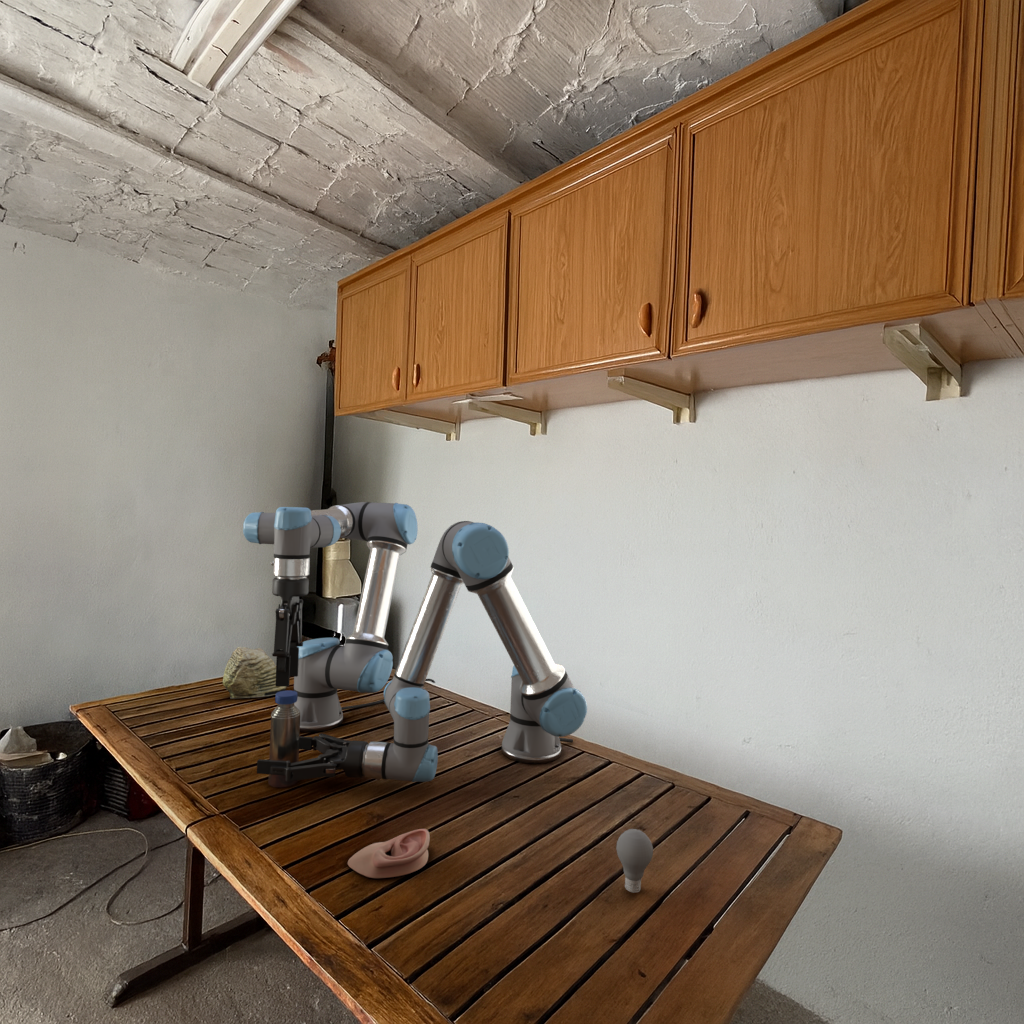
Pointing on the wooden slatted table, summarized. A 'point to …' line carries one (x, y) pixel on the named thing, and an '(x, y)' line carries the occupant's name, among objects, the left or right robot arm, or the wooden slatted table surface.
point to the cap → (286, 697)
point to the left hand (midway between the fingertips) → (287, 680)
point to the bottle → (284, 739)
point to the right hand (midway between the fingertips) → (271, 753)
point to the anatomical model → (393, 856)
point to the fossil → (250, 674)
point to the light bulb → (634, 857)
